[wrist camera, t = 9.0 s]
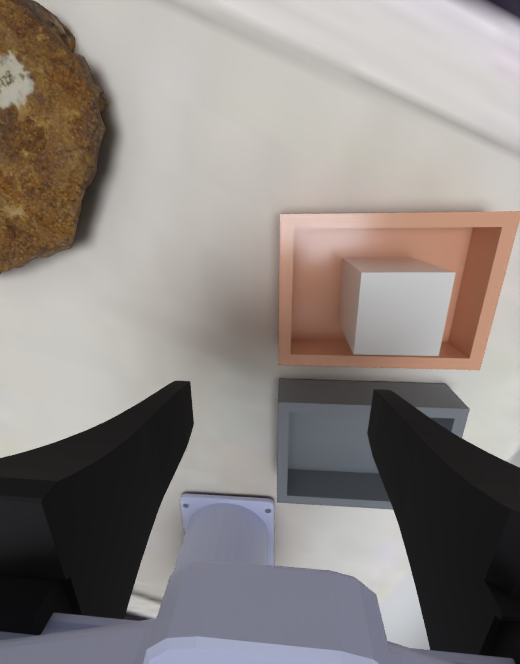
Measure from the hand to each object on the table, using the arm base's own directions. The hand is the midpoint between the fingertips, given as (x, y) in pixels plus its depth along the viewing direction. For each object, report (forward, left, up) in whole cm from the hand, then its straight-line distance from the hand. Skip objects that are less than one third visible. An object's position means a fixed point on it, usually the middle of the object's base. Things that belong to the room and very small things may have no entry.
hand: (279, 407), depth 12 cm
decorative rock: (+10, +16, -10) cm, 21 cm away
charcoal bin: (-8, -6, -9) cm, 13 cm away
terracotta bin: (+3, -6, -9) cm, 11 cm away
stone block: (+3, -6, -9) cm, 11 cm away
